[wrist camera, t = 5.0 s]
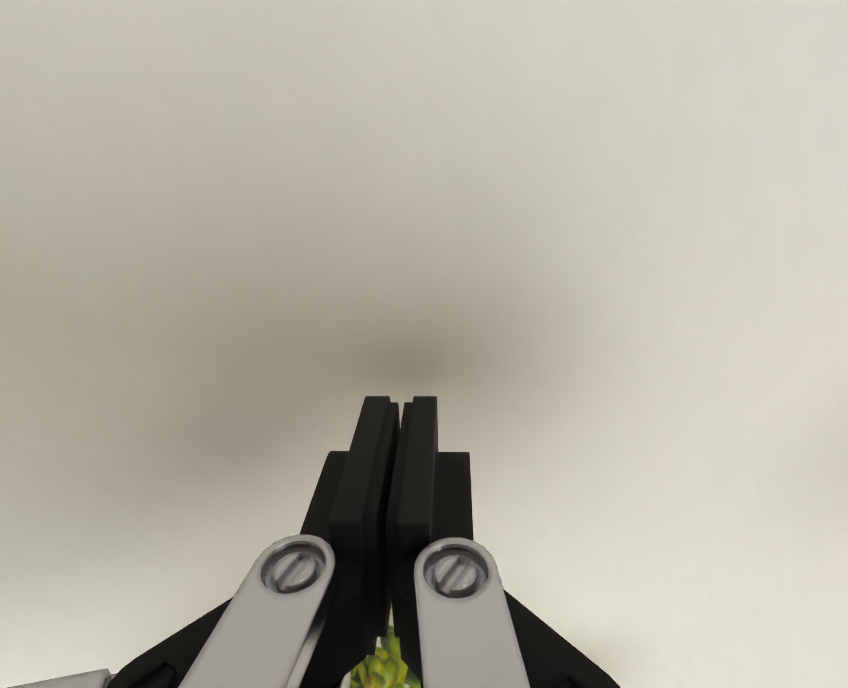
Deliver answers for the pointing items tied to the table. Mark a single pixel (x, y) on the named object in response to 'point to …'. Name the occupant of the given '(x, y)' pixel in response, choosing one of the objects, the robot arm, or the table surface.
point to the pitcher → (384, 666)
